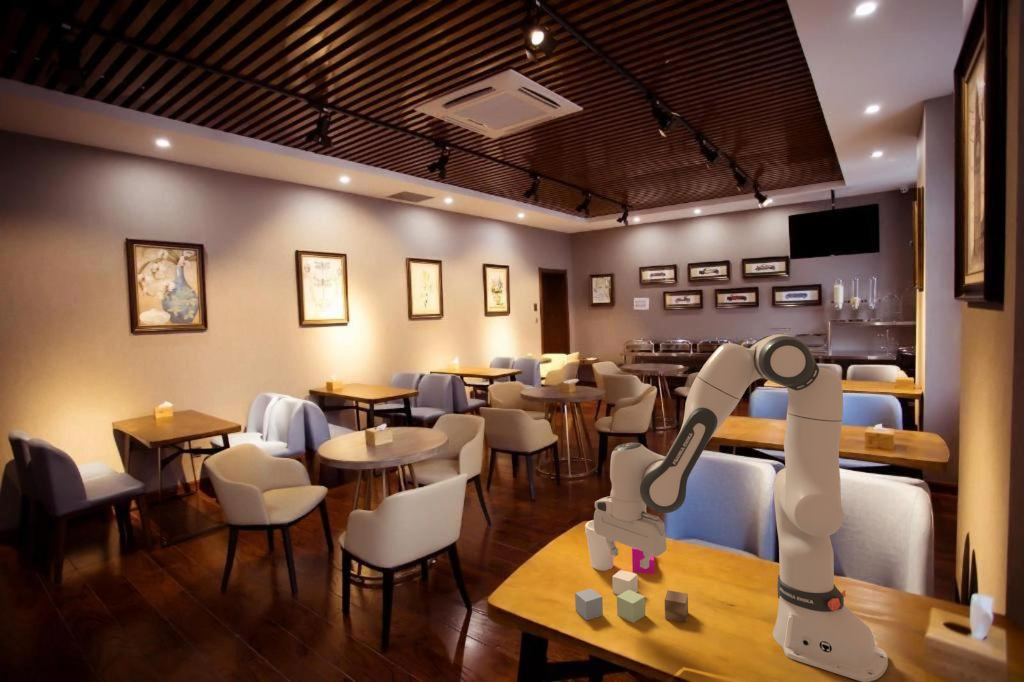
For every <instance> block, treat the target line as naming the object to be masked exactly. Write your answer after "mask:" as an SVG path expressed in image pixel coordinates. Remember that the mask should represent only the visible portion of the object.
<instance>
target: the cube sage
mask: <svg viewBox="0 0 1024 682" xmlns="http://www.w3.org/2000/svg"><path fill="white" fill-rule="evenodd" d="M616 609H617V610H616V613H617V615H616V616H618V617H620V618H622V619H623V620H626V621H628V622H630V623H632V624H635V623H636V622H637V621H639V620H641V619H642V618H644V617H645V616H646V596H645V595H643V594H641V593H638V592H634V591H631V590H627V591H625V592H624V593H622V594H620V595H617V596H616Z"/></svg>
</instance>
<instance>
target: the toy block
mask: <svg viewBox="0 0 1024 682" xmlns="http://www.w3.org/2000/svg"><path fill="white" fill-rule="evenodd" d="M631 558H632V559H631V562H632V563H631V565H632V573H640V574H641V573H644V574H655V556H654V555H653V556H652V557H651V559H650V560H649V567H648V568H647V569H645V568H642V567H640V560H643V559H644V558H645V556H644V555H643V551H641V550H638V549H635V548H633V547H631Z"/></svg>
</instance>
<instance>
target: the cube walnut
mask: <svg viewBox="0 0 1024 682" xmlns="http://www.w3.org/2000/svg"><path fill="white" fill-rule="evenodd" d="M688 599H689V595H688V593H687V592H682V591H681V592H680V591H674V590H668V589H667V590H666V593H665V597H664V619H665V620H670V621H675V622H679V623H680V622H681V623H684V624H685V623H687V620H688V616H689V600H688Z"/></svg>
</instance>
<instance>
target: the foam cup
mask: <svg viewBox="0 0 1024 682" xmlns="http://www.w3.org/2000/svg"><path fill="white" fill-rule="evenodd" d="M584 529H585V530H584V531H585V535H586V539H587V545H588V546H587V547H588V548H587V549H588V552H589V559H590V565H591V568H593V569H594V570H597V571H602V572H604V571H609V569H610V570H611V569H613V567H614V563H615V562H614V561H615V560H614V559H615V556H612V555H610V548H609V547H608V544H607V542H606V537H603V536H600V535H598V534H596V532H595V530H594V519H592V520H589V521H587V522H586V523H585V525H584ZM616 542H617V541H614V543H615V544H616Z"/></svg>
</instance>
